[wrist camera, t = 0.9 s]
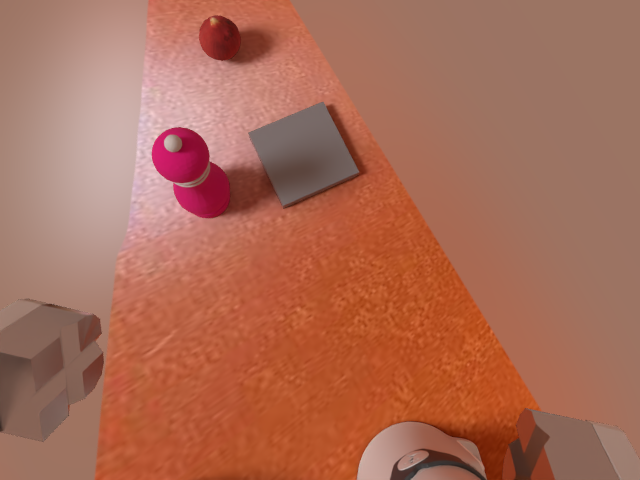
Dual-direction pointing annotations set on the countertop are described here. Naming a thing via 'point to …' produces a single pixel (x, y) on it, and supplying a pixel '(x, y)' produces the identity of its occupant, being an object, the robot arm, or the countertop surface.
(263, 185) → the countertop surface
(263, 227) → the countertop surface
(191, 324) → the countertop surface
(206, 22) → the onion
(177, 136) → the pepper mill
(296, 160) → the silver flat square block
